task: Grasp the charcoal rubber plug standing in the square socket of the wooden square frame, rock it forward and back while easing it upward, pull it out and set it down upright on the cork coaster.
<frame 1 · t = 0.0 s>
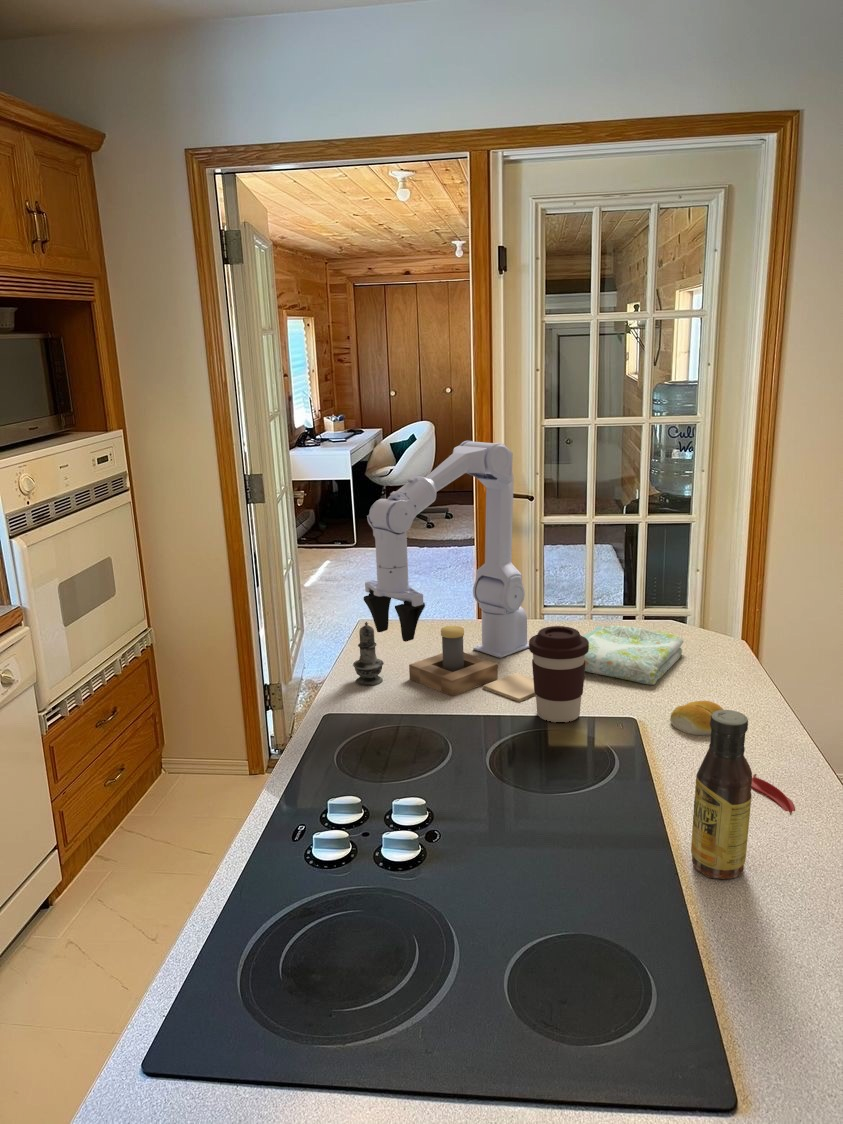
hand: (395, 635, 159), 10 cm above the countertop, tool pointing down, fingers open, 7 cm apart
sauce bottle: (718, 869, 102), on the countertop
coffee cup: (558, 716, 147), on the countertop
salt shaker: (369, 681, 165), on the countertop
coaster: (517, 688, 159), on the countertop
bread roll: (698, 727, 141), on the countertop
cayenne pepper: (769, 797, 119), on the countertop
wooden square frame: (453, 678, 164), on the countertop
plug: (453, 654, 163), in the wooden square frame
towel: (624, 664, 170), on the countertop
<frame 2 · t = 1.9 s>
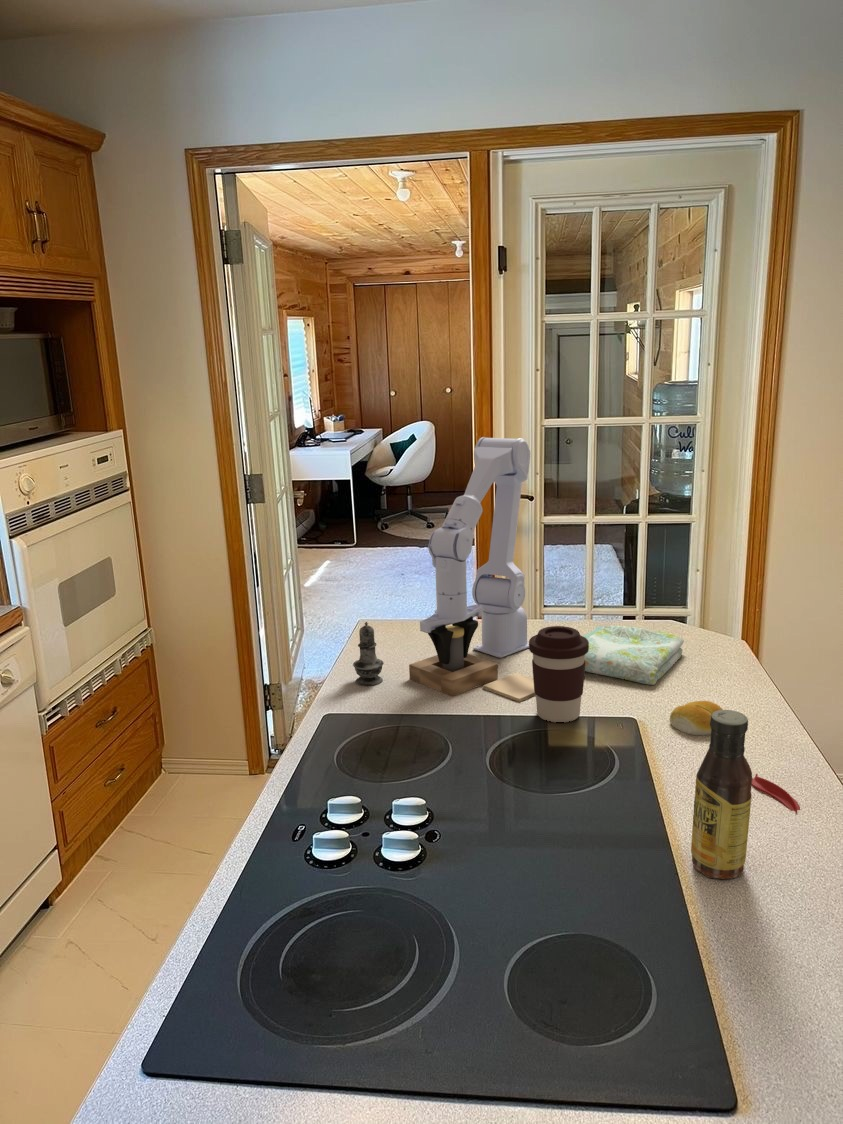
hand: (453, 659, 163), 4 cm above the countertop, tool pointing down, fingers closed on plug, 4 cm apart
plug: (453, 654, 163), in the wooden square frame, touching gripper
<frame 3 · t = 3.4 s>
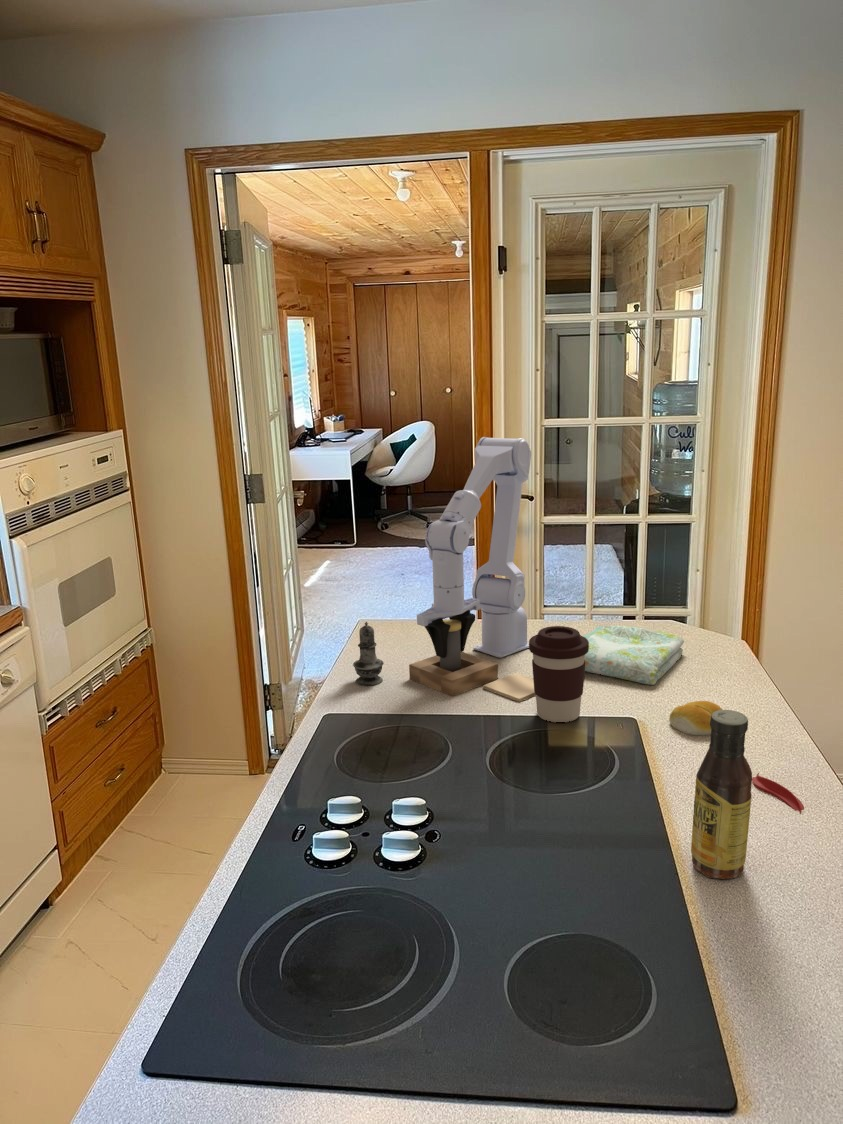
hand: (450, 653, 163), 5 cm above the countertop, tool pointing down, fingers closed on plug, 4 cm apart
plug: (450, 648, 162), point 6 cm above the countertop, touching gripper
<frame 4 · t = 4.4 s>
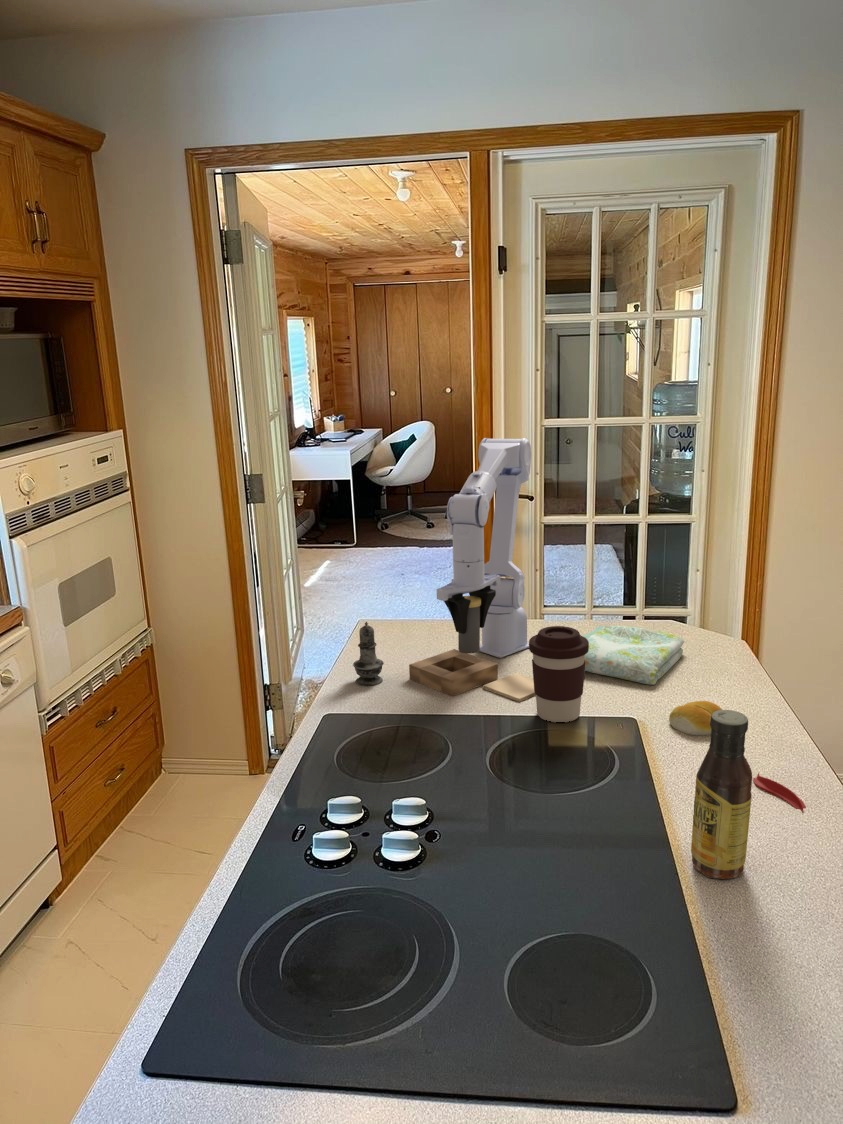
hand: (470, 629, 160), 10 cm above the countertop, tool pointing down, fingers closed on plug, 4 cm apart
plug: (469, 624, 160), point 11 cm above the countertop, touching gripper
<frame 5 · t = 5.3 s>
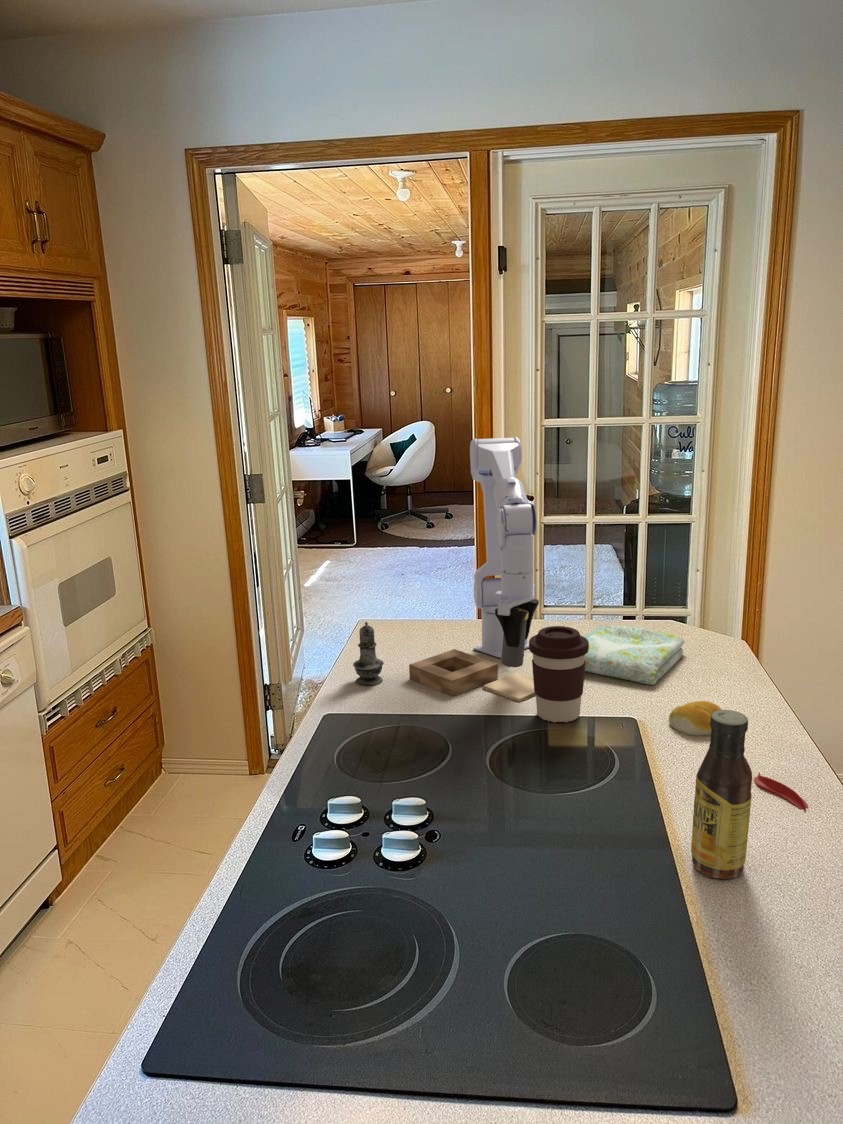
hand: (517, 642, 156), 9 cm above the countertop, tool pointing down, fingers closed on plug, 4 cm apart
plug: (514, 637, 157), point 10 cm above the countertop, tilted 5°, touching gripper
when the fingers open (5 cm above the countertop, at t = 6.3 s): plug stays where it is, resting on coaster.
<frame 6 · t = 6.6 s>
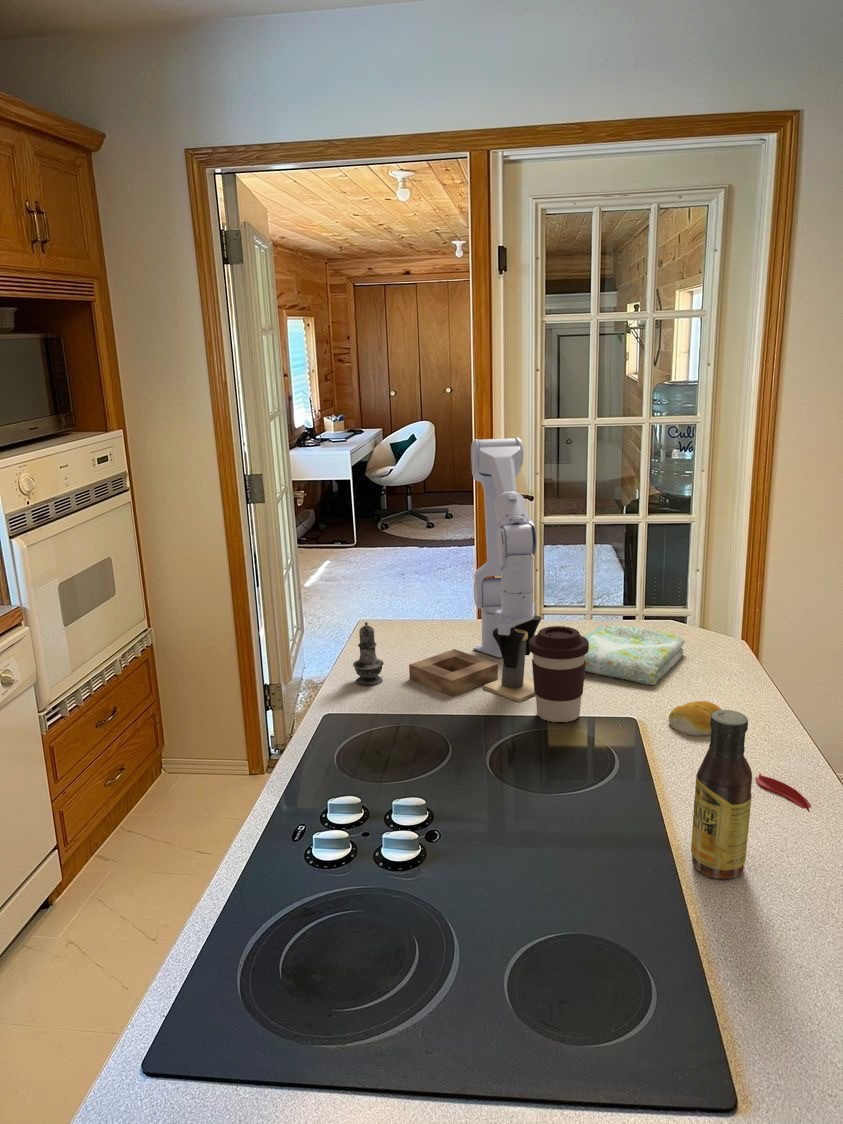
hand: (517, 660, 157), 5 cm above the countertop, tool pointing down, fingers open, 7 cm apart
plug: (514, 658, 158), on the coaster, point 6 cm above the countertop
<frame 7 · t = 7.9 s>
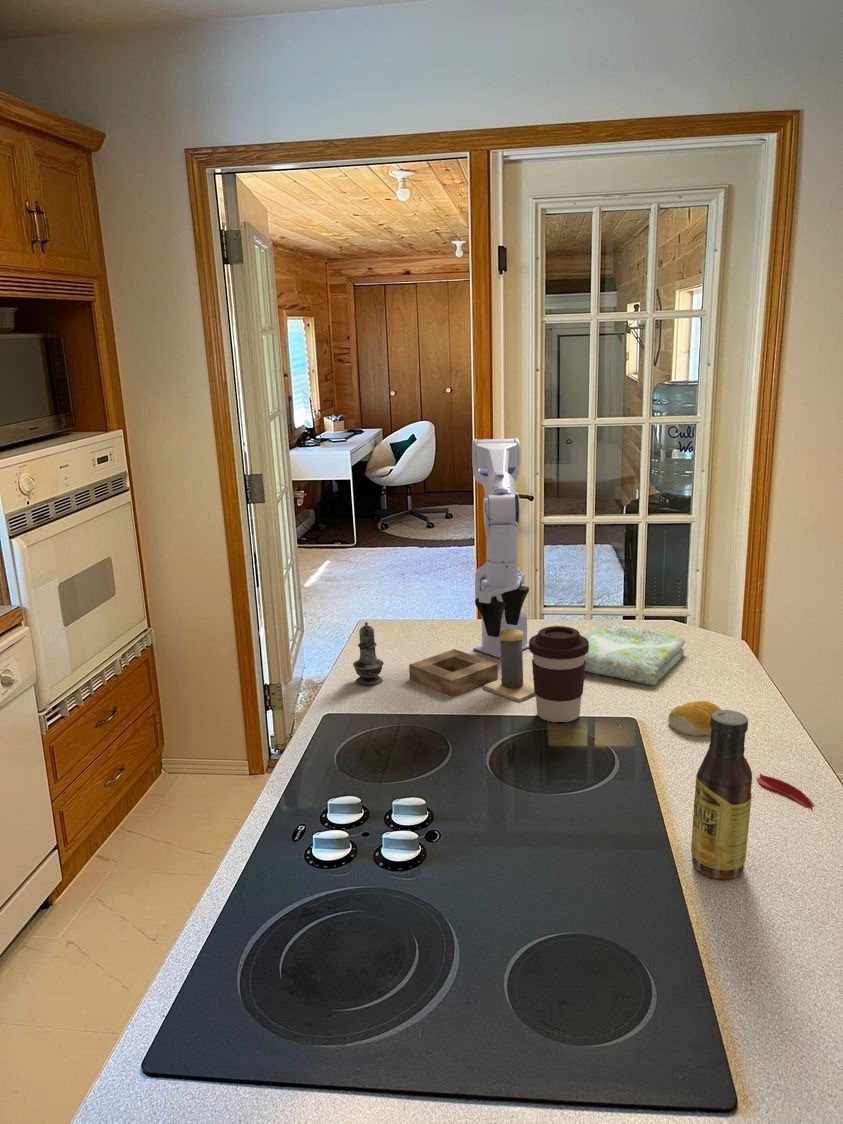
hand: (502, 630, 160), 10 cm above the countertop, tool pointing down, fingers open, 7 cm apart
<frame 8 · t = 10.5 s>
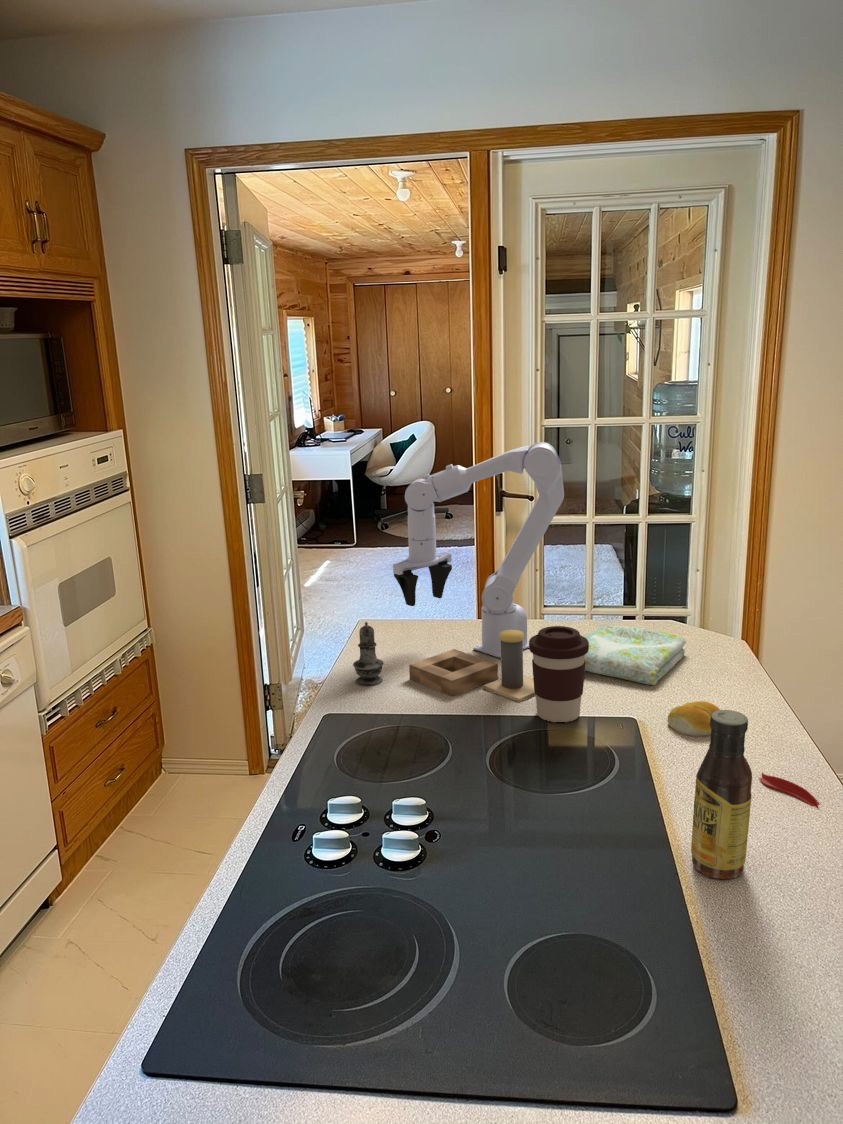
hand: (424, 601, 179), 10 cm above the countertop, tool pointing down, fingers open, 7 cm apart
at the end: plug inside the target area on the coaster (1.0 cm from its centre), point 5.6 cm above the coaster's base; plug tilted 1°; the gripper is holding nothing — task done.
